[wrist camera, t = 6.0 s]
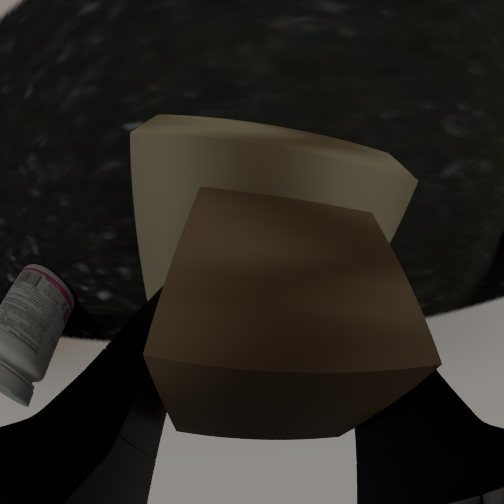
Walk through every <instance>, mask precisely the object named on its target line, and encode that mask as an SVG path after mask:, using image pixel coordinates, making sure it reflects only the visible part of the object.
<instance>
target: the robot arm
mask: <svg viewBox="0 0 504 504" xmlns="http://www.w3.org/2000/svg"><path fill="white" fill-rule="evenodd" d="M503 242H504V239H503ZM163 286H164V285H163ZM163 286H162V287H161V288H160V289H159V290H158V291H157V292H156V293H155V294H154V295H153V296H152V297H151V298H150V299H149V301H148V302H147V303H146V304H145V305H144V306H143V307H142V308H141V309H140V310H139V311H138V312H137V313H136V314H135V315H134V317H133V318H132V319H131V320H130V321H129V322H128V323H127V324H126V325H125V326H124V327H123V328H122V330H121V331H120V332H119V333H118V334H117V335H116V336H115V337H114V338H113V339H112V341H111V342H110V343H109V344H108V345H107V346H106V349H103V350H102V352H101V353H100V354H99V355H98V356H97V357H96V358H95V359H94V360H93V362H92V363H91V364H90V365H89V366H88V367H87V368H86V369H85V370H84V371H83V372H82V373H81V374H80V375H79V376H78V377H77V378H76V379H75V380H74V381H73V382H71V383H70V384H69V385H68V386H67V387H66V388H65V389H64V390H63V391H62V392H61V393H60V394H58V395H57V396H56V397H55V398H54V399H53V400H52V401H51V402H50V403H49V404H48V405H46V406H45V407H44V408H43V409H42V410H41V411H39V412H38V413H37V414H35V415H33V416H32V417H30V418H28V419H25V420H22V421H19V422H16V423H13V424H10V425H6V426H2V427H0V504H147V500H148V495H149V490H150V485H151V480H152V475H153V471H154V466H155V459H156V456H157V452H158V447H159V442H160V438H161V434H162V430H163V425H164V421H165V417H166V413H167V411H166V409H165V406H164V404H163V402H162V400H161V398H160V395H159V393H158V391H157V389H156V386H155V384H154V382H153V379H152V377H151V374H150V372H149V369H148V367H147V364H146V362H145V359H144V357H143V353H144V349H145V345H146V342H147V338H148V335H149V331H150V328H151V324H152V321H153V318H154V314H155V311H156V308H157V305H158V301H159V298H160V295H161V292H162V289H163ZM355 437H356V456H357V504H504V429H503V428H499V427H495V426H492V425H489V424H487V423H484V422H483V421H481V420H480V419H479V418H478V417H477V416H476V415H475V414H474V413H473V412H472V410H471V409H470V408H469V407H468V406H467V405H466V404H465V403H464V402H463V400H462V399H461V398H460V397H459V396H458V395H457V394H456V393H455V392H454V390H453V389H452V388H451V387H450V386H449V385H448V383H447V382H446V381H445V380H444V379H443V378H442V376H441V375H440V374H439V372H437V370H435V371H433V372H432V373H431V374H430V375H429V376H428V377H426V378H425V379H424V380H423V381H421V382H420V383H419V384H418V385H416V386H415V387H414V388H413V389H411V390H410V391H409V392H407V393H406V394H405V395H403V396H402V397H401V398H399V399H398V400H396V401H395V402H394V403H392V404H391V405H389V406H388V407H386V408H385V409H383V410H382V411H380V412H379V413H377V414H376V415H374V416H373V417H371V418H370V419H368V420H367V421H365V422H363V423H362V424H360V425H358V426H357V427H355Z"/></svg>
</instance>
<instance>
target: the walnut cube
mask: <svg viewBox="0 0 504 504" xmlns="http://www.w3.org/2000/svg"><path fill="white" fill-rule="evenodd" d="M143 357H144V359H145V362H146V364H147V367H148V369H149V372H150V374H151V377H152V379H153V382H154V384H155V386H156V389H157V391H158V393H159V395H160V398H161V400H162V402H163V404H164V406H165V409H166V411H167V413H168V415H169V417H170V419H171V421H172V423H173V425H174V426H175V429H176V431H179V432H186V433H192V434H199V435H207V436H217V437H228V438H240V439H263V440H264V439H265V440H293V439H316V438H329V437H339V436H341V435H343V434H345V433H346V432H348V431H350V430H351V429H353V428H355V427H357V426H358V425H360V424H362V423H363V422H365V421H367V420H368V419H370V418H371V417H373V416H374V415H376V414H377V413H379V412H380V411H382V410H383V409H385V408H386V407H388V406H389V405H391V404H392V403H394V402H395V401H396V400H398V399H399V398H401V397H402V396H403V395H405V394H406V393H407V392H409V391H410V390H411V389H413V388H414V387H415V386H416V385H418V384H419V383H420V382H421V381H423V380H424V379H425V378H426V377H428V376H429V375H430V374H431V373H432V372H433V371H435V370H436V369H437V368H438V367H439V366H440V365H441V364H442V363H441V360H440V357H439V354H438V351H437V349H436V346H435V343H434V341H433V338H432V335H431V333H430V330H429V328H428V325H427V323H426V320H425V318H424V315H423V313H422V311H421V308H420V306H419V304H418V301H417V299H416V297H415V295H414V293H413V290H412V288H411V286H410V284H409V282H408V280H407V278H406V275H405V273H404V271H403V269H402V267H401V265H400V263H399V261H398V259H397V257H396V256H395V254H394V252H393V250H392V248H391V246H390V244H389V242H388V240H387V239H386V237H385V235H384V233H383V231H382V230H381V228H380V226H379V224H378V223H377V221H376V219H375V217H374V216H373V214H372V213H370V212H365V211H360V210H355V209H350V208H345V207H339V206H334V205H328V204H323V203H317V202H311V201H305V200H299V199H292V198H286V197H279V196H272V195H265V194H258V193H251V192H243V191H235V190H227V189H218V188H209V187H200V188H199V190H198V193H197V195H196V198H195V200H194V203H193V205H192V208H191V210H190V213H189V216H188V218H187V221H186V223H185V226H184V229H183V231H182V234H181V237H180V240H179V242H178V245H177V248H176V251H175V254H174V256H173V259H172V262H171V265H170V268H169V271H168V274H167V277H166V280H165V283H164V286H163V289H162V292H161V295H160V298H159V301H158V305H157V308H156V311H155V314H154V318H153V321H152V324H151V328H150V331H149V335H148V338H147V342H146V345H145V349H144V353H143Z"/></svg>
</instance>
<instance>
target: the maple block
mask: <svg viewBox="0 0 504 504" xmlns="http://www.w3.org/2000/svg"><path fill="white" fill-rule="evenodd" d="M130 150H131V173H132V188H133V201H134V212H135V221H136V230H137V238H138V246H139V253H140V260H141V267H142V273H143V279H144V285H145V290H146V296H147V301H149V299H150V298H151V297H152V296H153V295H154V294H155V293H156V292H157V291H158V290H159V289H160V288H161V287H162V286H163V285H164V283H165V280H166V277H167V274H168V271H169V268H170V265H171V262H172V259H173V256H174V254H175V251H176V248H177V245H178V242H179V240H180V237H181V234H182V231H183V229H184V226H185V223H186V221H187V218H188V216H189V213H190V210H191V208H192V205H193V203H194V200H195V198H196V195H197V193H198V190H199V188H200V187H209V188H218V189H227V190H235V191H243V192H251V193H258V194H265V195H272V196H279V197H286V198H292V199H299V200H305V201H311V202H317V203H323V204H328V205H334V206H339V207H345V208H350V209H355V210H360V211H365V212H370V213H372V214H373V216H374V217H375V219H376V221H377V223H378V224H379V226H380V228H381V230H382V231H383V233H384V235H385V237H386V239H387V240H388V242H389V244H390V242H391V240H392V238H393V236H394V234H395V232H396V230H397V228H398V225H399V223H400V221H401V219H402V217H403V215H404V213H405V210H406V208H407V206H408V204H409V201H410V199H411V197H412V195H413V192H414V190H415V187H416V185H417V183H418V180H417V179H416V178H415V177H414V176H413V175H412V174H411V173H410V172H409V171H407V170H406V169H405V168H404V167H403V166H402V165H401V164H400V163H399V162H398V161H397V160H395V159H394V158H393V157H392V156H391V155H390V154H389V153H386V152H382V151H379V150H376V149H373V148H369V147H366V146H362V145H359V144H355V143H351V142H347V141H344V140H340V139H336V138H331V137H327V136H323V135H319V134H314V133H309V132H305V131H300V130H295V129H289V128H284V127H278V126H272V125H266V124H260V123H253V122H246V121H238V120H229V119H220V118H210V117H197V116H182V115H156V116H155V117H153V118H152V119H150V120H149V121H147V122H146V123H144V124H143V125H141V126H140V127H138V128H137V129H135V130H134V131H132V132H131V133H130Z"/></svg>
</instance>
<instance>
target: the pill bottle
mask: <svg viewBox="0 0 504 504" xmlns="http://www.w3.org/2000/svg"><path fill="white" fill-rule="evenodd" d="M73 307H74V299H73V295H72V293H71V291H70V290H69V288H68V287H67V285H66V284H65V283H64V282H63V281H62V280H61V279H60V278H59V277H58V276H57V275H56V274H54V273H53V272H52V271H51V270H49V269H47V268H45V267H43V266H41V265H37V264H30V265H28V266H26V267H25V268H24V269H23V270H22V272H21V273H20V274H19V276H18V278H17V279H16V281H15V282H14V284H13V286H12V287H11V289H10V290H9V292H8V293H7V295H6V297H5V298H4V300H3V302H2V303H1V305H0V392H1V393H3V394H4V395H6V396H7V397H9V398H11V399H12V400H14V401H16V402H18V403H20V404H22V405H24V406H29V403H30V400H31V398H32V395H33V389H34V386H33V385H32V382H39V381H41V380H42V379H43V378H44V376H45V374H46V371H47V368H48V366H49V363H50V361H51V358H52V356H53V353H54V351H55V348H56V346H57V343H58V341H59V339H60V336H61V334H62V332H63V329H64V327H65V325H66V323H67V320H68V318H69V316H70V314H71V312H72V310H73Z"/></svg>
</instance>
